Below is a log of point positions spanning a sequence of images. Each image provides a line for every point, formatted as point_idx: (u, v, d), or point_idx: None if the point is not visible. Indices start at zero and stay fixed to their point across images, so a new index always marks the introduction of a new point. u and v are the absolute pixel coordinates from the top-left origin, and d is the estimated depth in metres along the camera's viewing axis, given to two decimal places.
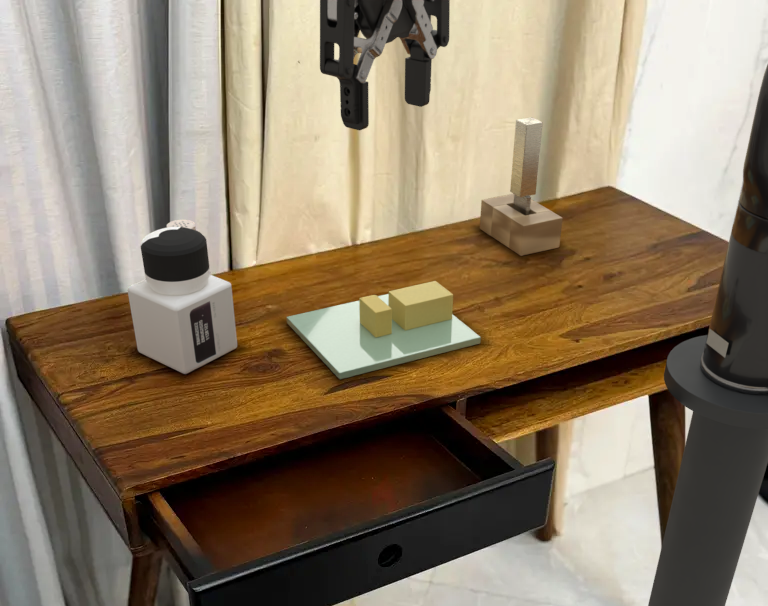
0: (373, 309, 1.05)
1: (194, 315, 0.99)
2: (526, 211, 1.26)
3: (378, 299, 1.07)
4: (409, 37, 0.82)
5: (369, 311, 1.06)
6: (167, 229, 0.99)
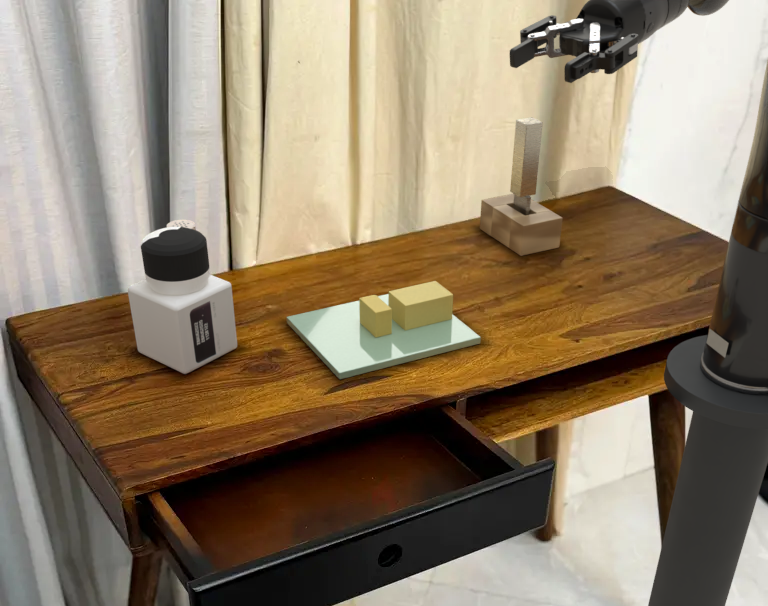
0: (373, 309, 1.05)
1: (194, 314, 0.99)
2: (526, 211, 1.26)
3: (378, 299, 1.07)
4: None
5: (369, 311, 1.06)
6: (167, 229, 0.99)
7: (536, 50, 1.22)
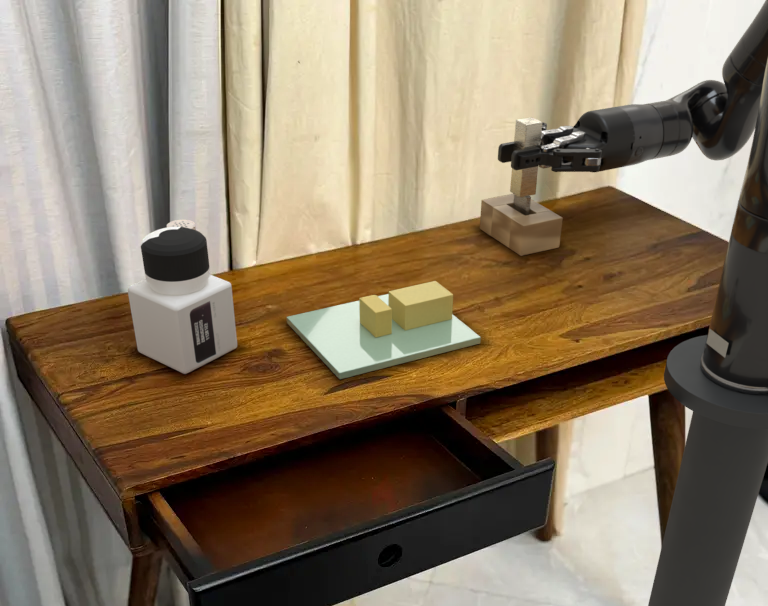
0: (373, 309, 1.05)
1: (194, 314, 0.99)
2: (526, 211, 1.26)
3: (378, 299, 1.07)
4: None
5: (369, 311, 1.06)
6: (167, 229, 0.99)
7: None
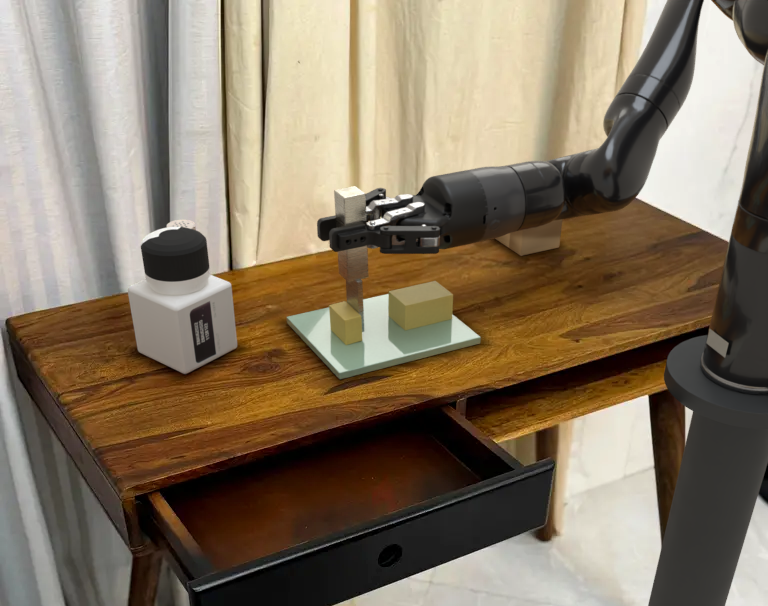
0: (342, 317, 1.04)
1: (194, 314, 0.99)
2: (359, 297, 1.03)
3: (348, 306, 1.06)
4: None
5: (339, 318, 1.05)
6: (167, 229, 0.99)
7: None
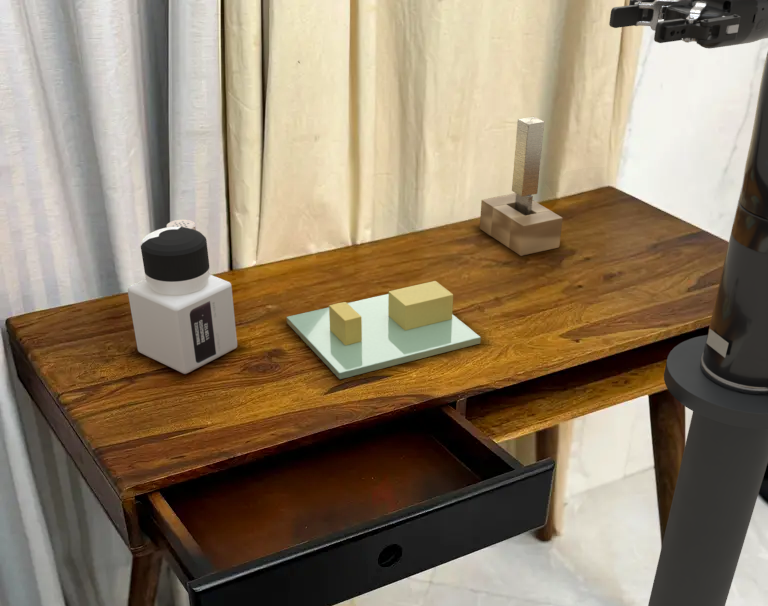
0: (343, 317, 1.04)
1: (194, 314, 0.99)
2: (528, 210, 1.26)
3: (348, 306, 1.06)
4: None
5: (339, 318, 1.05)
6: (167, 229, 0.99)
7: (640, 19, 1.22)
